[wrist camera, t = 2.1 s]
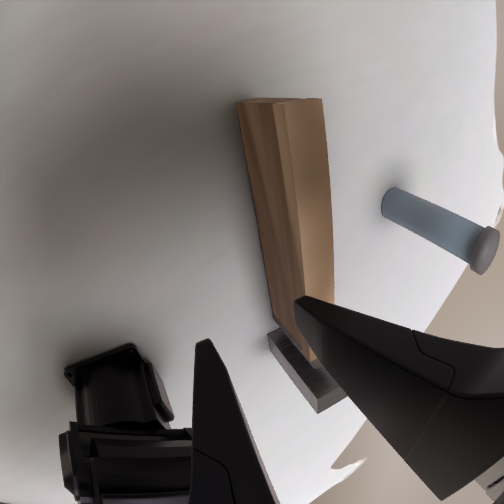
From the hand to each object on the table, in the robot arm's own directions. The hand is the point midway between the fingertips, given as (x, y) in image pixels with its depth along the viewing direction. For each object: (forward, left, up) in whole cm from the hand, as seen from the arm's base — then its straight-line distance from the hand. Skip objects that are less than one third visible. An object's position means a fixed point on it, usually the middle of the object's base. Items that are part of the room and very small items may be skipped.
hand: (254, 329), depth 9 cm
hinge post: (+6, -15, -12) cm, 20 cm away
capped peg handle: (+19, -6, -12) cm, 23 cm away
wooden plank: (+6, -4, -12) cm, 14 cm away
